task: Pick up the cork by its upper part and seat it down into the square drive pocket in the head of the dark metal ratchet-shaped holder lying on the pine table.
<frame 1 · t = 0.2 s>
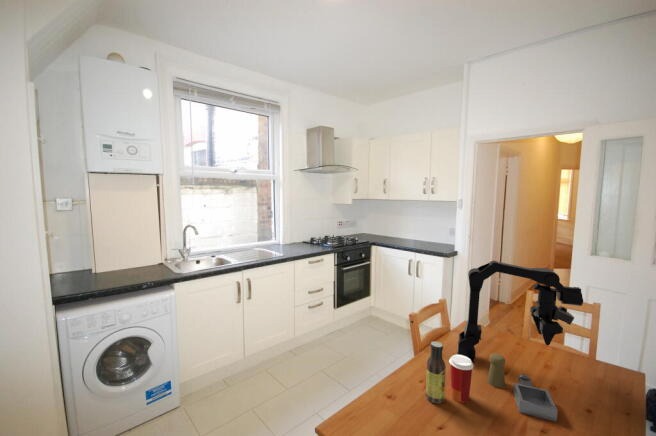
hand: (543, 339, 114), 14 cm above the table, fingers open, 9 cm apart
cork: (496, 383, 109), on the table
sauce bottle: (435, 398, 101), on the table
paper cup: (459, 397, 102), on the table
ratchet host: (533, 406, 97), on the table
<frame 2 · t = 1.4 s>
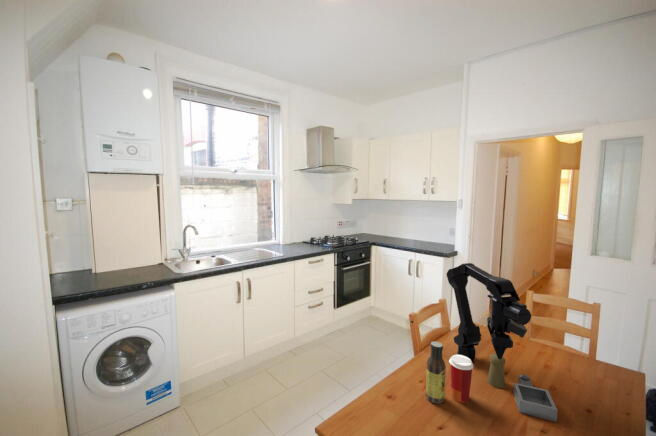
hand: (497, 352, 108), 12 cm above the table, fingers open, 9 cm apart
nothing on the table moved.
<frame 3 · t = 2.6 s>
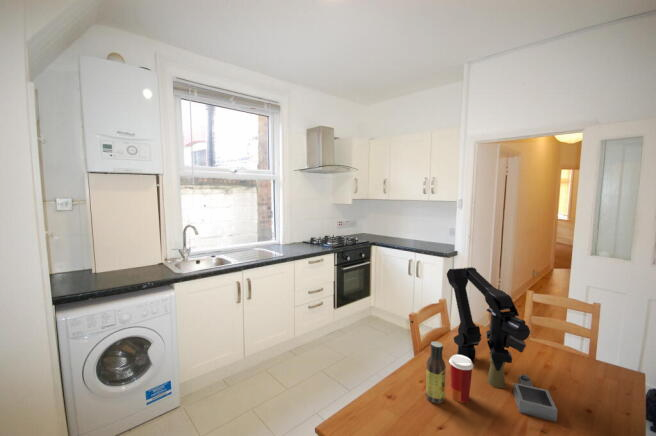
hand: (496, 366, 109), 7 cm above the table, fingers closed on cork, 5 cm apart
cork: (495, 383, 109), on the table, touching gripper
everything else where it was.
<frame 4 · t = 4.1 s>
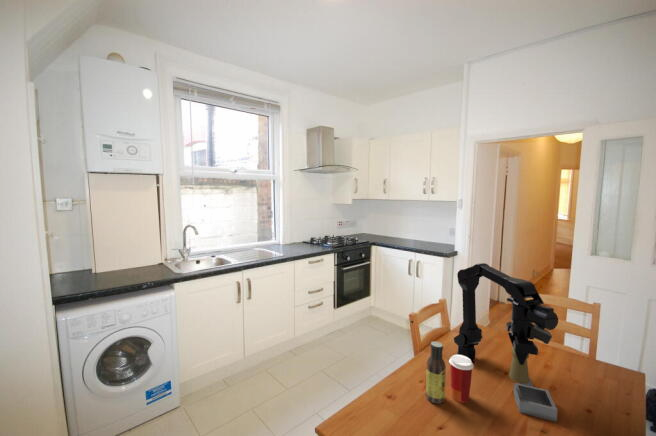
hand: (519, 360, 101), 14 cm above the table, fingers closed on cork, 5 cm apart
cork: (519, 378, 101), point 7 cm above the table, touching gripper
everything else where it was.
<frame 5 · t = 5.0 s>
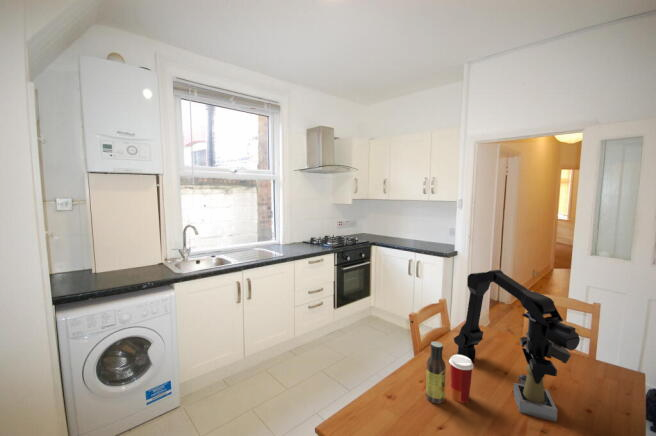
hand: (535, 378, 96), 10 cm above the table, fingers closed on cork, 5 cm apart
cork: (533, 397, 97), point 3 cm above the table, touching gripper
everything else where it was.
when the fingers open (9 cm above the table, at t = 5.6 s): cork drops 1 cm, resting on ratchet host.
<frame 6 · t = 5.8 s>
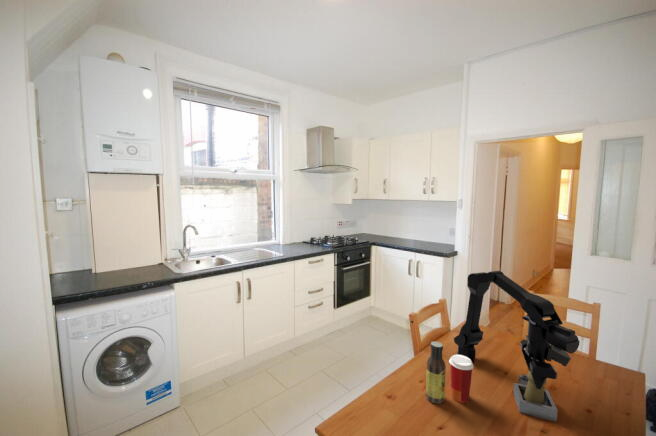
hand: (535, 381, 96), 9 cm above the table, fingers open, 7 cm apart
cork: (533, 403, 97), point 1 cm above the table, touching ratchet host
everything else where it was.
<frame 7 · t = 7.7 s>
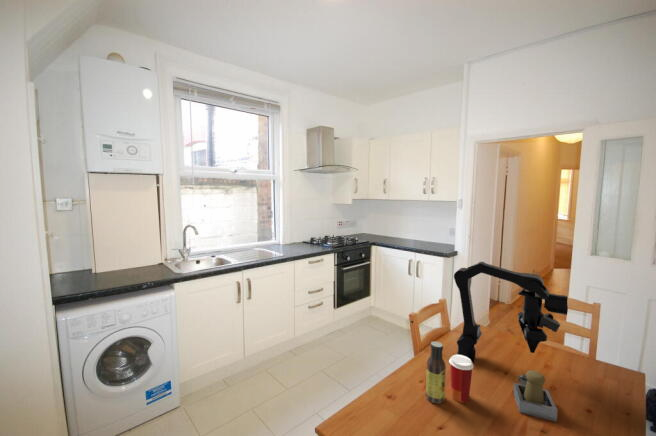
hand: (529, 346, 111), 13 cm above the table, fingers open, 9 cm apart
nothing on the table moved.
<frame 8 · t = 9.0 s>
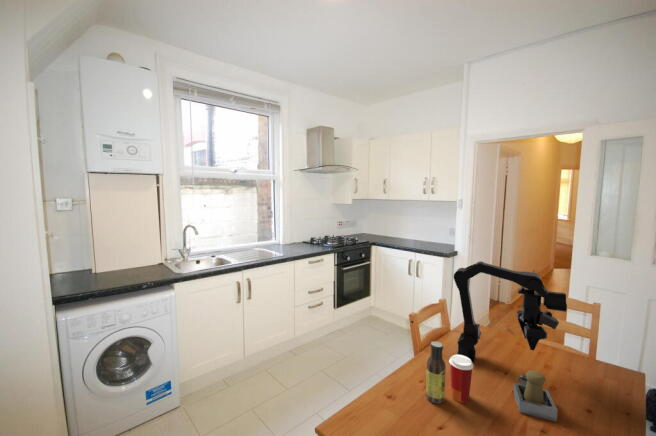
hand: (529, 344, 113), 13 cm above the table, fingers open, 9 cm apart
nothing on the table moved.
at the end: cork 0.1 cm off-centre on the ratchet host, point 0.8 cm above the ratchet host's base; cork tilted 0°; the gripper is holding nothing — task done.
